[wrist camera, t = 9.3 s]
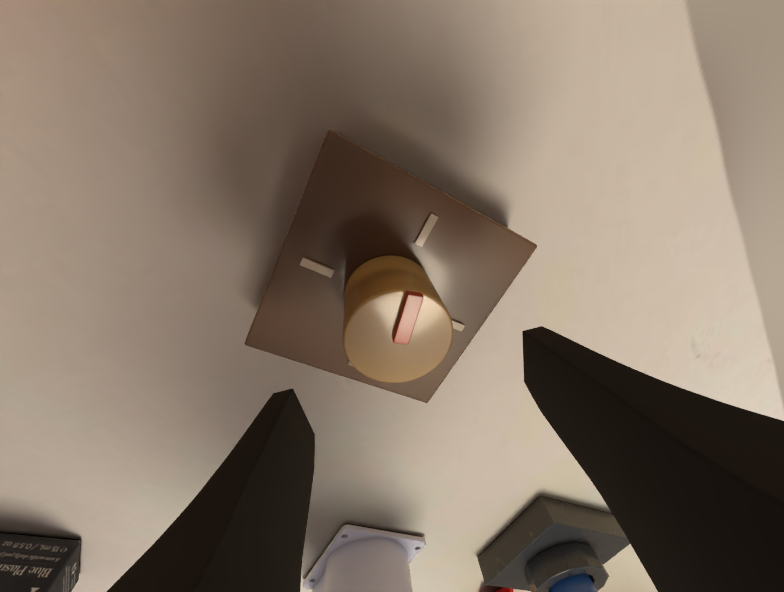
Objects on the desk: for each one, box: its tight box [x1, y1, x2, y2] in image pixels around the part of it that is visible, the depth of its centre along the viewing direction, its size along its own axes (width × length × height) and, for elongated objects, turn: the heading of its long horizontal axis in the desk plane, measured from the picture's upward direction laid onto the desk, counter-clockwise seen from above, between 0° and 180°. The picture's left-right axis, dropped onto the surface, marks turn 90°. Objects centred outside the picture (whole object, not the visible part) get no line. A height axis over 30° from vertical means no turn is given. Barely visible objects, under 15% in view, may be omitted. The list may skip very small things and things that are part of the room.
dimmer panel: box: [245, 130, 537, 403], centre depth 16 cm, size 10×10×3 cm
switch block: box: [478, 496, 630, 592], centre depth 30 cm, size 10×10×4 cm
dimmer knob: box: [343, 256, 453, 383], centre depth 13 cm, size 4×4×4 cm
